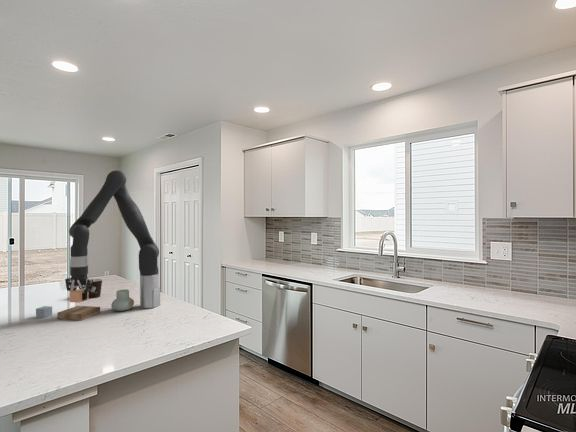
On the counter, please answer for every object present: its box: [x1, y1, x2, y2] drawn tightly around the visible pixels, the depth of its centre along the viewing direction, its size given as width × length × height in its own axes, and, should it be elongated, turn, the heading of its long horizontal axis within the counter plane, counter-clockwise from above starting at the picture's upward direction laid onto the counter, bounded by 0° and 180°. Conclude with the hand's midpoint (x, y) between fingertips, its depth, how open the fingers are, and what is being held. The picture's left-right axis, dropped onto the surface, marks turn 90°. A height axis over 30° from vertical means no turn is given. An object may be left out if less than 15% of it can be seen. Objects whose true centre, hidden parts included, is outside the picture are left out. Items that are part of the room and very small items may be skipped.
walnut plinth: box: [56, 305, 101, 321], centre depth 160 cm, size 13×12×3 cm
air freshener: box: [110, 288, 135, 312], centre depth 171 cm, size 11×8×10 cm
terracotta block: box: [69, 288, 89, 304], centre depth 160 cm, size 6×6×5 cm
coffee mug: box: [78, 278, 103, 299], centre depth 197 cm, size 12×9×10 cm
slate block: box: [35, 305, 53, 319], centre depth 159 cm, size 4×4×4 cm
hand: (79, 299), depth 161 cm, fingers closed on terracotta block, 5 cm apart
